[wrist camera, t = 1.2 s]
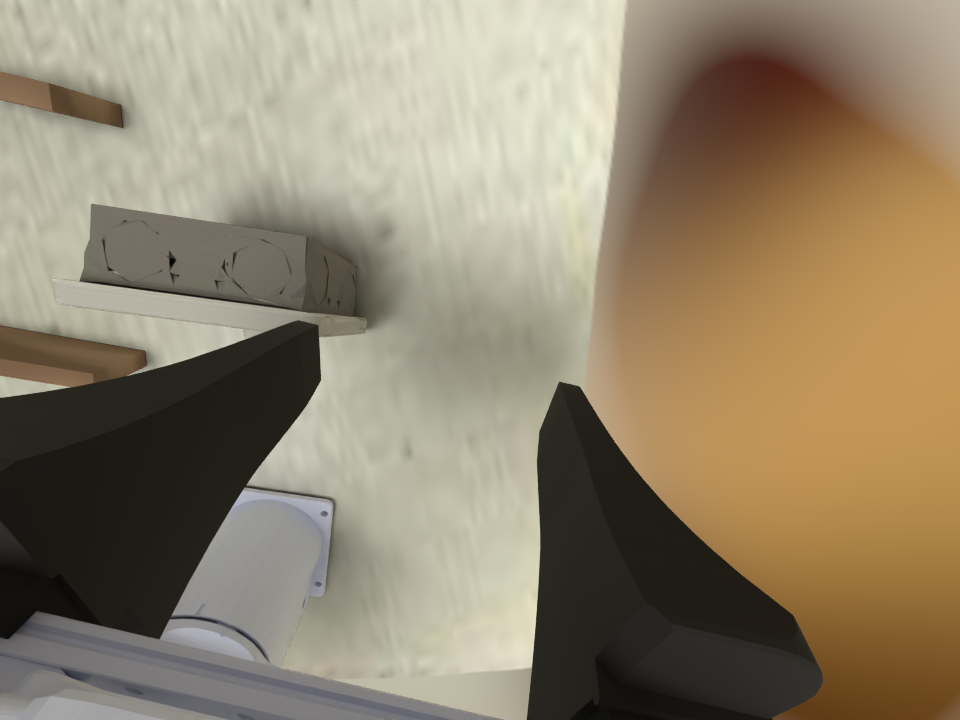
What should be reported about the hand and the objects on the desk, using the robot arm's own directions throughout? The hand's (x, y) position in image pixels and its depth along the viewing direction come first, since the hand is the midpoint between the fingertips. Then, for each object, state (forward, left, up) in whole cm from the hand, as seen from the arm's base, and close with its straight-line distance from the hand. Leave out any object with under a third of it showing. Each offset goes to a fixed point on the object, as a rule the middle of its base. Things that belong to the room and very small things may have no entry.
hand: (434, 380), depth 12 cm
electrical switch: (-1, +9, -12) cm, 16 cm away
